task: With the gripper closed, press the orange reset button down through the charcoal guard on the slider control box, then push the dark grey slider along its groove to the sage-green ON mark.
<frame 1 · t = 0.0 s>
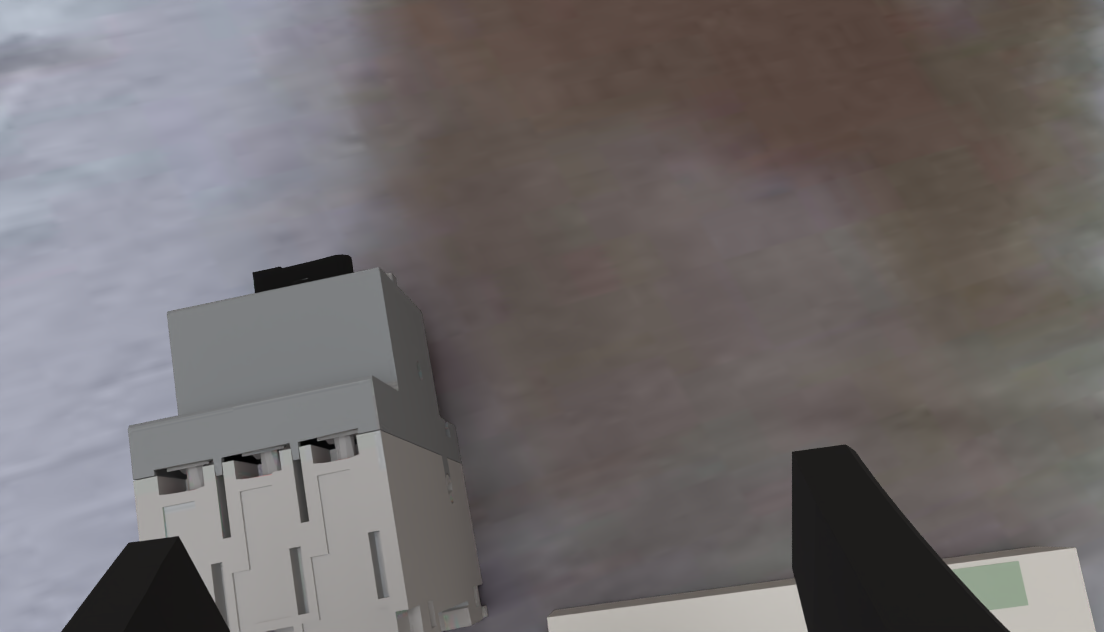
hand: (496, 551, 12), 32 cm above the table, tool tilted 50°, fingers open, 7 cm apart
circuit breaker: (376, 466, 45), on the table
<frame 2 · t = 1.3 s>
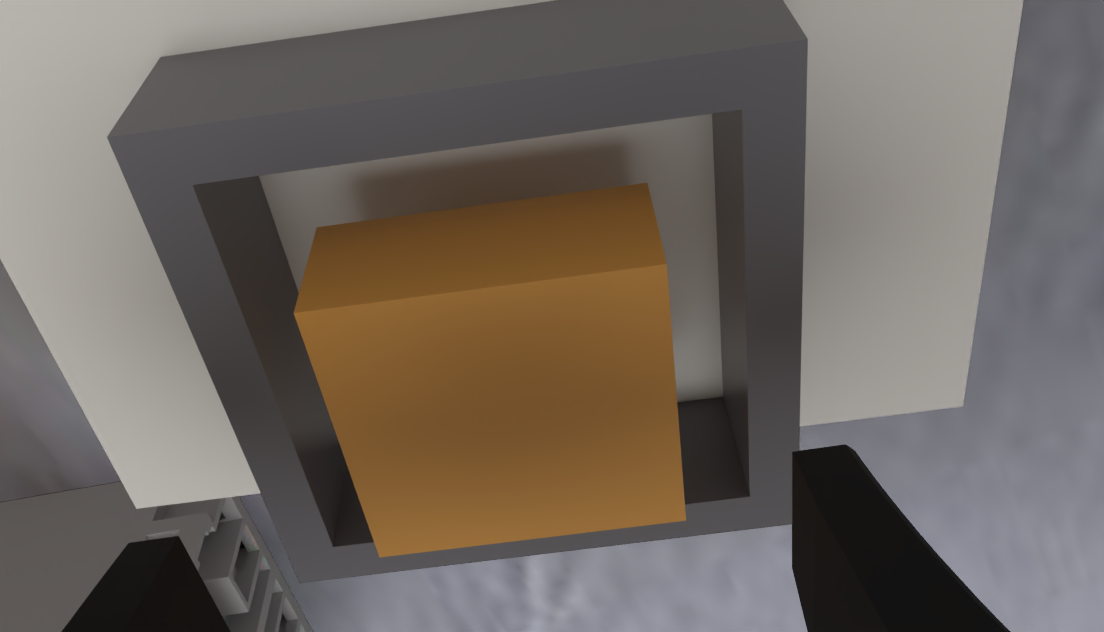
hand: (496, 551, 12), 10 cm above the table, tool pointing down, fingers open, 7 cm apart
circuit breaker: (24, 598, 28), on the table
reset button: (507, 378, 15), point 7 cm above the table, slide at 0.0 cm
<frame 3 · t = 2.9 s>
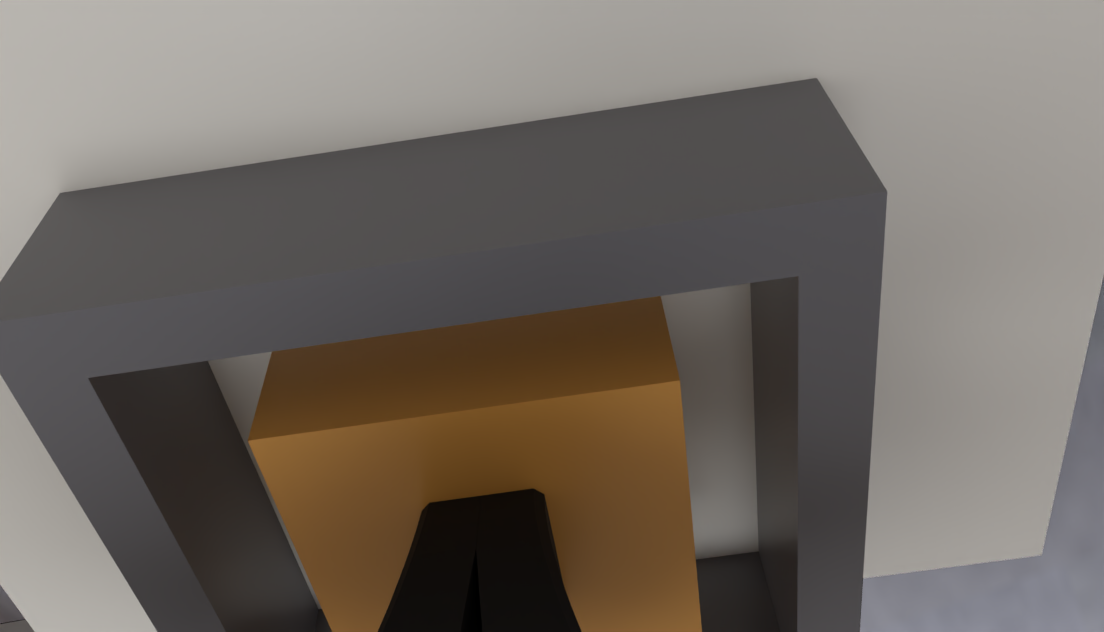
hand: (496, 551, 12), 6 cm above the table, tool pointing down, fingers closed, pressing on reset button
reset button: (498, 491, 13), point 5 cm above the table, slide at 1.5 cm, touching gripper
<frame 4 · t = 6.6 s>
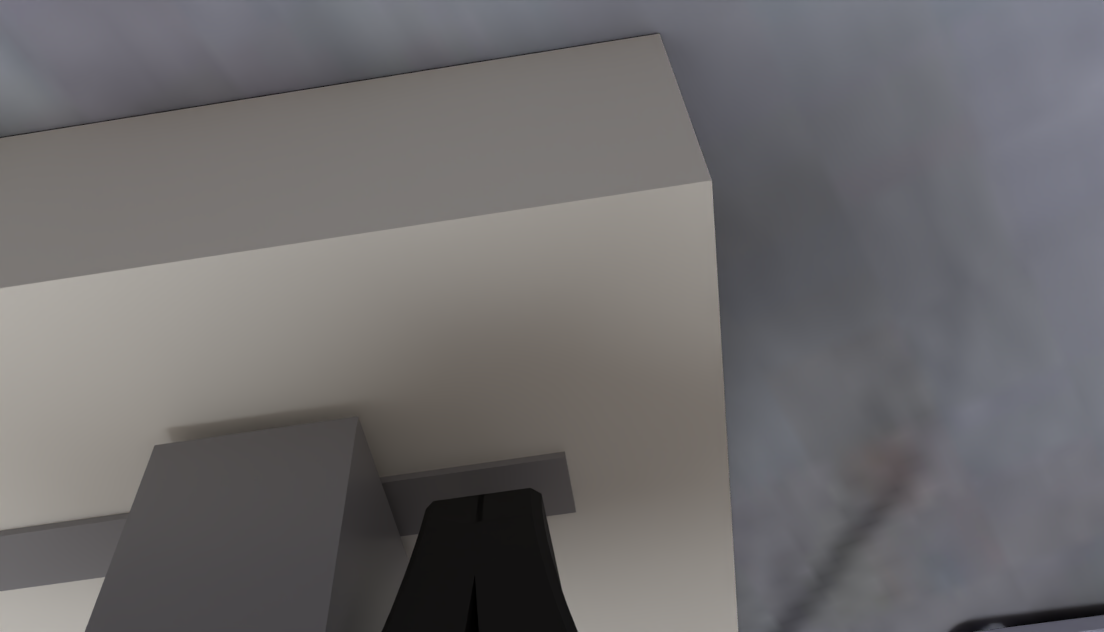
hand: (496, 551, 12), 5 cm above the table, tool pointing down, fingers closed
slider control box: (293, 587, 20), on the table
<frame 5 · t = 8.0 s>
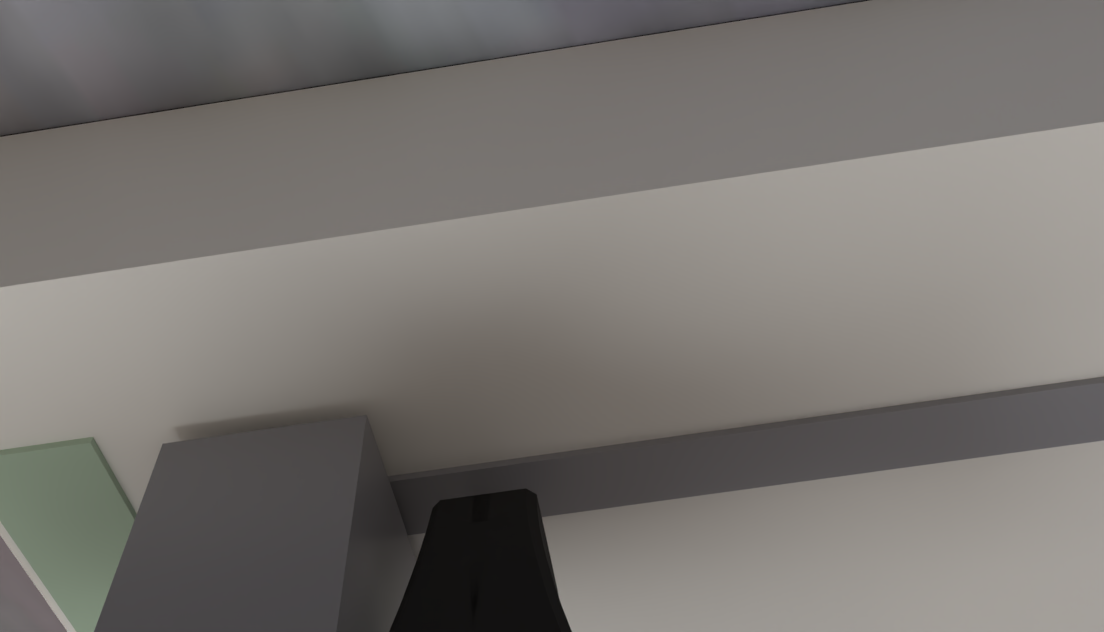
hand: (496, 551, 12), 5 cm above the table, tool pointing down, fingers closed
slider control box: (636, 540, 20), on the table
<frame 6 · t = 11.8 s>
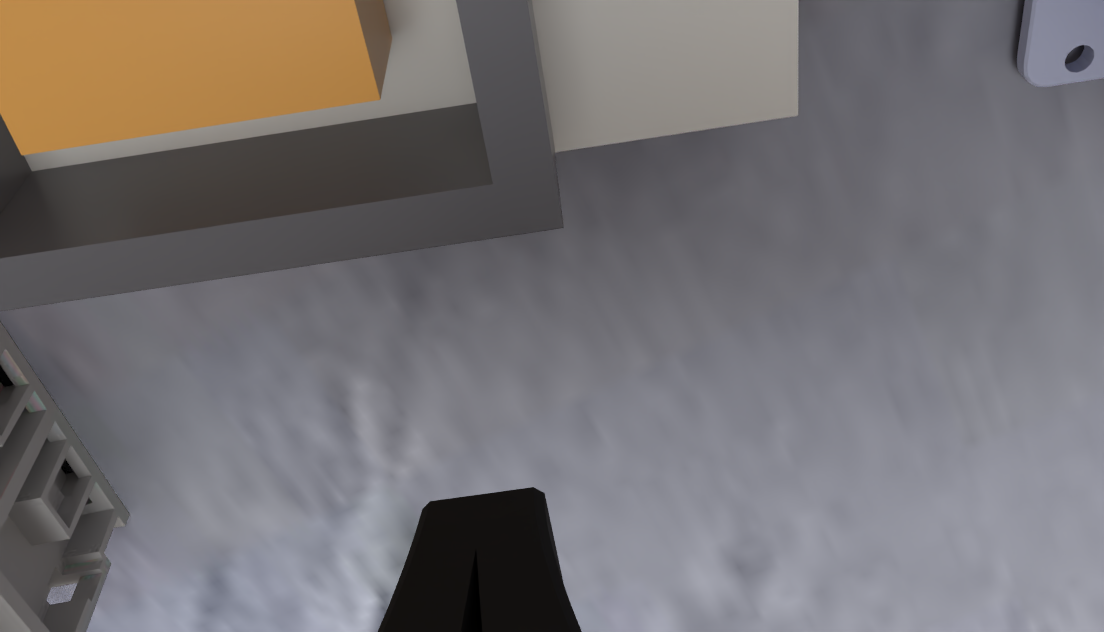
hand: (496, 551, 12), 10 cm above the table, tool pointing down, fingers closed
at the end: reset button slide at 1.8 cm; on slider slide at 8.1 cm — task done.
